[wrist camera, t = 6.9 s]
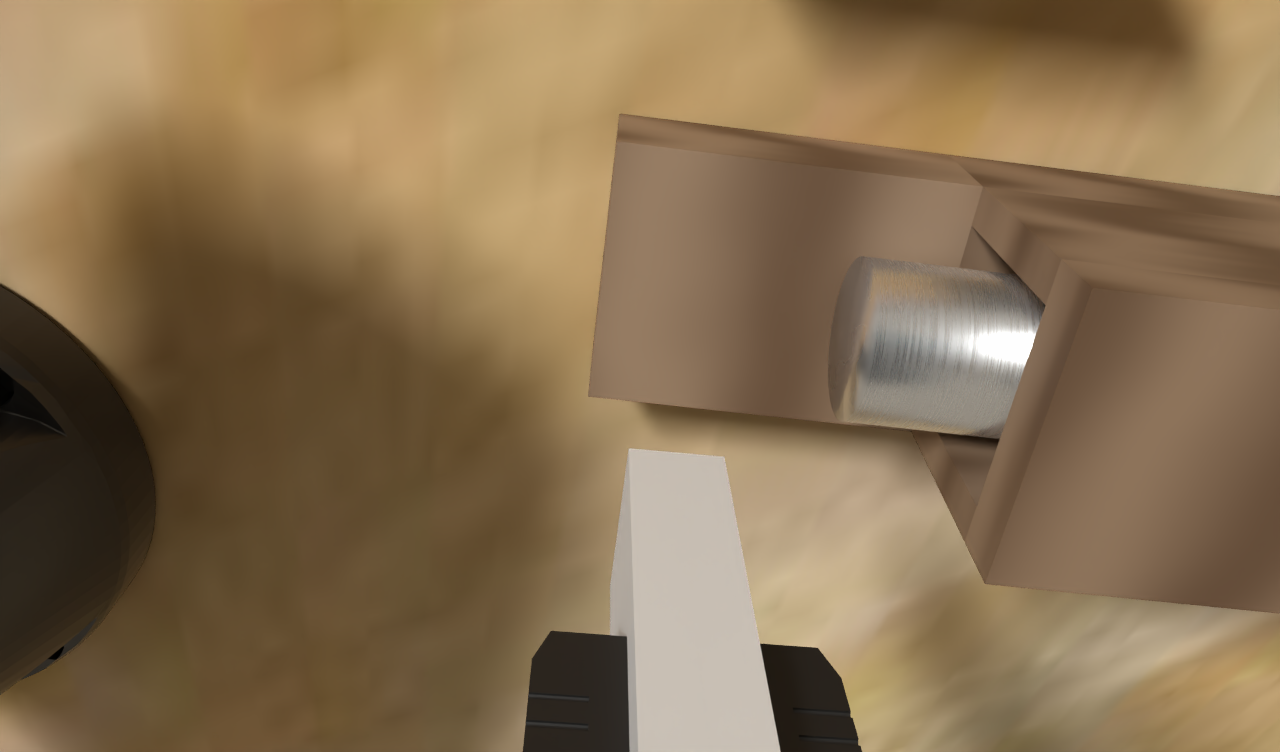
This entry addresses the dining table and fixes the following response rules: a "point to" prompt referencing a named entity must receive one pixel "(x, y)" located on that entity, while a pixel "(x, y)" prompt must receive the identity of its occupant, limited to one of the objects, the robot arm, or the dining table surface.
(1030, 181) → the wooden shaft support
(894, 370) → the axle
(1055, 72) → the dining table surface
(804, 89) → the dining table surface
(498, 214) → the dining table surface
